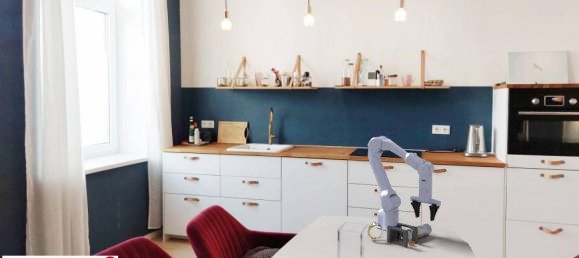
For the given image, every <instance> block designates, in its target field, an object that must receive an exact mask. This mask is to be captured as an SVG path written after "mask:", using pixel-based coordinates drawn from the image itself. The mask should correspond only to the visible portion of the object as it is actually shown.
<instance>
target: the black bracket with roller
mask: <svg viewBox="0 0 579 258" xmlns="http://www.w3.org/2000/svg"><path fill="white" fill-rule="evenodd" d="M404 228H405V229H404ZM406 228H408V229H410V228H411V229H413V240H412V241H409V242H408V230H407V229H406ZM386 231H387V232H386V242H387V243H393V242H394V241H398V240H402V247H403V248H408V246H411V247H414V246H415V245H417V244H418V239H419V238H418V227H416V226H414V225H411V224H407V223H402V222H398V223H397V225H395V226H390V225H389V226H387V230H386ZM402 232H403V238H402Z"/></svg>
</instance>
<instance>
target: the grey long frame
mask: <svg viewBox="0 0 579 258" xmlns="http://www.w3.org/2000/svg"><path fill="white" fill-rule="evenodd" d="M415 227H418V239H420V238H424V237H426V236H428V235H431V233H432V232H433V229H432V226H431V225H430V224H429V223H423V224H420V225H418V226H417V225H416V226H415ZM406 230H408V243H409V241H413V229H411V228H408V229H406ZM402 239H403V232H402Z"/></svg>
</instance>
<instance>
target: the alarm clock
mask: <svg viewBox="0 0 579 258" xmlns="http://www.w3.org/2000/svg"><path fill="white" fill-rule="evenodd" d="M377 226H379V227H380V228H381V234H380V235H379V236H378V237H376V236H375V237H373V236H371V234H370V232H371V230H372V229H373V228H374V227H377ZM380 228H379V229H380ZM367 234H368V235H367V236H369V238H370V239H372V240H374V241H377V240H380V239H381V238H382V237H383V235H384V229H383V227H382V226H381V225H380V224H379V222H378V223H377V221H373V222H371V223H370V224H369V226H368V228H367Z"/></svg>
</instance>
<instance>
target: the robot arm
mask: <svg viewBox="0 0 579 258" xmlns="http://www.w3.org/2000/svg"><path fill="white" fill-rule="evenodd" d="M367 148H368V151H367V159H368V161H369V164H370V168H371V170H372V173H373V174H374V177H375V179H376V182H377V185H378V188H379V190H380V196H379V199H380V206H381V208H380V209H379V210H378V211H377V212H378V213H377V221H376V223H378V222H379V224H380V225H381V226H382V227H383V229H384V230H385V231H387V226H389V225H390V226H395V225H397V223H399V220H400V219H399V215H400V213H399V212H400V211H399V210H400V209H399V207H400V206H401V203H402V200H401V197H400V196H399V195H398V194H397V192H396V191H395V190H394V189H393V188H392V186H391V181H390V180H389V177H388V174H387V171H386V170H385V167H384V165H383V162H382V159H381V157H382V154H383V153H384V152H385V151H390V152H392V153H394V154H395V155H396V156H398V157H400V158H402V159H403V161H404V163H405V164H406V165H408V166H409V167H411V168H412V169H413V170H415V171H417V173H418V175H419V176H418V177H419V178H418V196H414V195H413V196H410V198H409V199H410V205H411V207H412V209H413V212H414V215H415V218H416V219H418V218H420V216H421V215H420V213H421V205H422V204H427V205H429V206H428V208H429V215H430V217H429V220H430V222H433V221H435V218H436V216H437V212H438V210H439V209H440V207H441V205H442V204H441V203H442V201H441V200H437V199H435V198H433V173H434V171H435V166H434V164H433V163H432V162H431V161H426V159H423V158H421V157H420V156H418V154H417V153H416V152H414V153H413V152H407V151H406V150H405V149H403V148H402V147H401V146H400V145H398V144H397V143H395V142H394V141H393V140H391V139H390V138H388V137H387V136H384V135H380V136H376V137H372V138H371V139H370V140H369V141H368V143H367ZM375 227H376V229H379V230H380V229H381V228H380V227H379V226H375Z"/></svg>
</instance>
